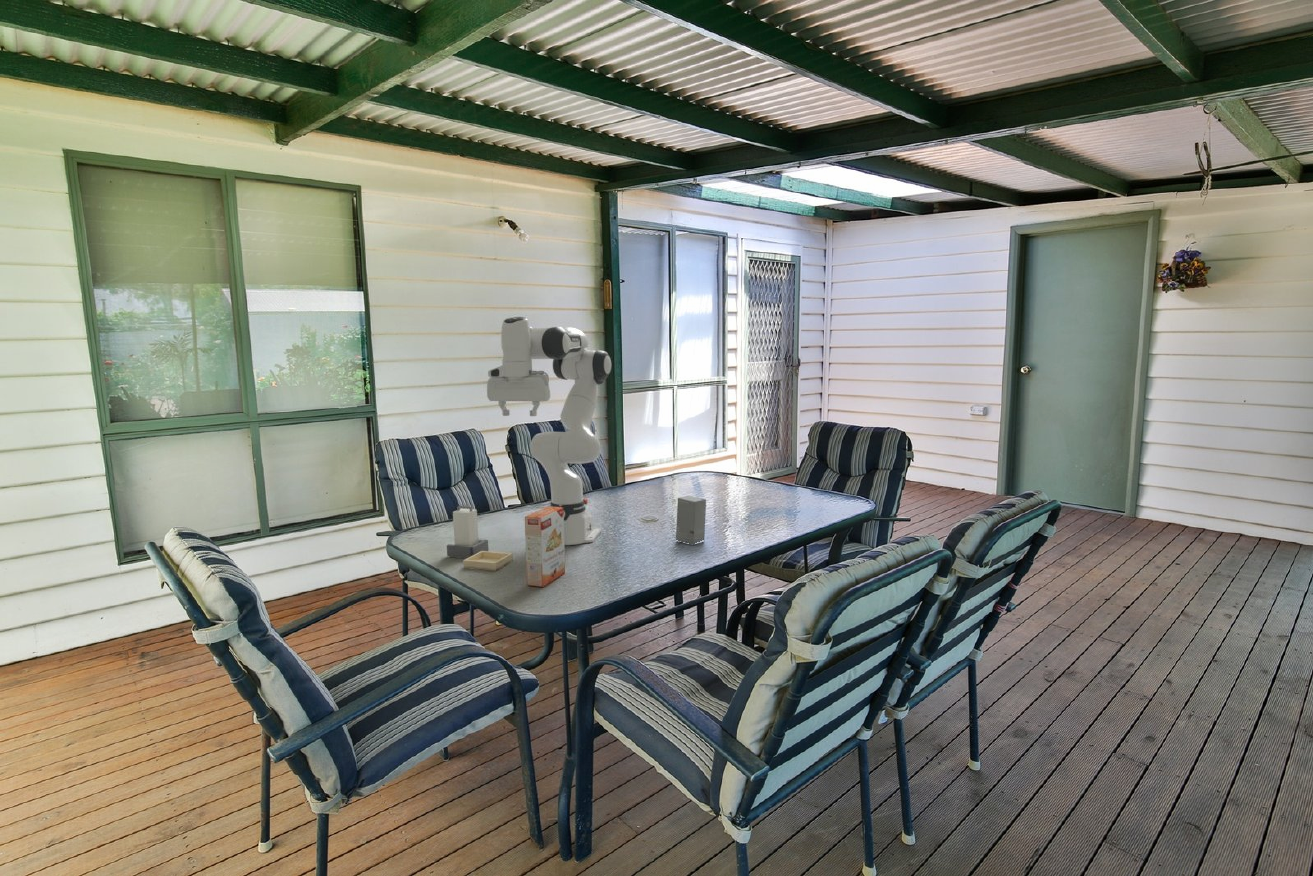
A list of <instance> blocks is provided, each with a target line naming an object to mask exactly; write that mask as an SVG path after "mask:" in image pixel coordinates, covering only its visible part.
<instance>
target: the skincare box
mask: <svg viewBox="0 0 1313 876" xmlns="http://www.w3.org/2000/svg"><path fill="white" fill-rule="evenodd" d="M676 508H677V512H676V529H675V530H676V531H675V532H676V533H675V541H676V540H678V541H681V542H685V543H689V544H695V543H697V542H700V541H702V540H704V541H705V536H706V535H705V534H706V515H707V514H706V512H707V510H706V509H707V499H706V498H701V497H698V496H692V495H684V496H680V497H679V496H678V497H677V507H676ZM689 544H688V545H689Z"/></svg>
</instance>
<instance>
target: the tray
mask: <svg viewBox="0 0 1313 876" xmlns="http://www.w3.org/2000/svg"><path fill="white" fill-rule="evenodd" d="M462 561H463V568H464V569H469V568H473V569H472V570H479V569H481V570H480V571H490V570H491V571H492V572H497V571H498V570H500V569H503V566H504V567H506V566H507V565H509V564H510V563H512V562H514V555H513V553H511V552H502V551H500V552H497V551H490V550H489V551H480V552H478V553H476V554H475V555H473V556H471V557H469V558H467V559H465V558H464V559H463V560H462ZM508 563H509V564H508ZM506 564H507V565H506ZM499 568H500V569H499ZM496 570H497V571H496Z"/></svg>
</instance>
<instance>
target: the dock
mask: <svg viewBox="0 0 1313 876" xmlns="http://www.w3.org/2000/svg"><path fill="white" fill-rule="evenodd" d="M478 540H479V543H477V544H475V545H473V546H464V545H455V544H451V543H450V544H449V543H448V544H446V555H447V556H450V557H449V558H455V557H460V558H459V559H465V558H466V559H467V558H469V557H471V556H473V555H475V554H476V553H478V552H480V551H490V550H489V540H488V539H482V538H478Z"/></svg>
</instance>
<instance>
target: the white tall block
mask: <svg viewBox="0 0 1313 876" xmlns="http://www.w3.org/2000/svg"><path fill="white" fill-rule="evenodd" d="M456 509H457V510H454V511H452V520H453V535H454V536H453V537H454V545H464V546H473V545H475V544H477V543H479V540H478V539H479V526H478V525H479V523H478V510H477V509H475V508H473V507H472V506H468V505H467V506H466V505H457V507H456Z"/></svg>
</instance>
